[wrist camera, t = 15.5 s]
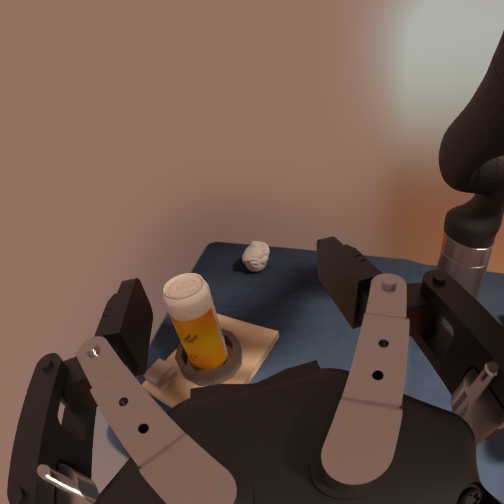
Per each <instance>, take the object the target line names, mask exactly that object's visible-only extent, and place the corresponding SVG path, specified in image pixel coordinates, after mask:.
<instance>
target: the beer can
mask: <svg viewBox="0 0 504 504" xmlns="http://www.w3.org/2000/svg"><path fill="white" fill-rule="evenodd" d="M163 292H164V294H163V301H164V303H165V306H166V308H167V311H168V313H169V315H170V318H171V320H172V322H173V325H174V327H175V329H176V332H177V334H178V336H179V338H180V341H181V343H182V345H183V347H184V349H185V351H186V354H187V356H188V358H189V360H190V362H191V364H192V366H193V367H194V369H195V370H197V371H211V370H213V369H215V368H217V367H219V366H221V365H224V364H225V363H226V361H227V360H228V359H229V353H228V349H227V346H226V343H225V340H224V337H223V334H222V330H221V327H220V324H219V320H218V317H217V314H216V310H215V307H214V304H213V300H212V297H211V293H210V290H209V286H208V284H207V283H206V282H205V281H204V280H203V278H202V276H200V275H198V274H195V273H186V274H181V275H179V276H176V277H174V278H172V279H171V280H169V281H168V282H167V283H166V284H165V286H164V288H163Z"/></svg>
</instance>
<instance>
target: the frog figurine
mask: <svg viewBox="0 0 504 504" xmlns="http://www.w3.org/2000/svg"><path fill="white" fill-rule="evenodd" d="M268 256H269V248H268V245H267V244H266V243H263V242H260V241H253V242H251V244H250V245H249V247H247V248H246V250H245V252H244V254H243V256H242V260H243V263H244V264H245V265H246V267H247V268H248V269H249V270H250V271H252V272H259V271H261V270H263V269H264V267H265V266H266V264H267V260H268Z"/></svg>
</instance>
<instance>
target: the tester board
mask: <svg viewBox="0 0 504 504" xmlns="http://www.w3.org/2000/svg"><path fill="white" fill-rule="evenodd" d="M216 314H217V313H216ZM217 317H218V320H219V324H220V327H221V330H222V334H223V337H224V340H225V343H226V346H227V349H228V353H229V359H228V360H227V361H226V363H225V364H224V365H221V366H219V367H217V368H215V369H213V370H211V371H197V370H195V369H194V367H193V366H192V364H191V362H190V360H189V358H188V356H187V354H186V351H185V349H184V347H183V345H182V343H180V344H179V345H178V347H177V349H176V350H175V351H174V352H173V353H172V354H171V355H170V356H169V357H168V358H167V359H166V360H165V361H163V360H162V359H160V358H159V359H158V360H157V361H156V362H155V363H154V364H153V365H152V366H151V367H150V368H149V369H148V370H147V371H146V374H145V375H143V376H144V377H145V379H146V381H145V382H144V383H143V384H142V386H143V388H144V389H145V390H146V391H147V392H148V393H149V394H151V395H152V396H154V397H155V398H157V399H158V400H160V401H161V402H163V403H164V404H166V405H168V406H169V407H171V408H173V407H174V406H175V405H177V404H179V403H180V402H182V401H184V400H186V399H189V398H190V389H191V388H197V387H204V386H210V385H216V384H249V382H250V381H251V379H252V378H253V376H254V375H255V374H256V372H257V371H258V369H259V368H260V366H261V365H262V363H263V362H264V360H265V359H266V357H267V356H268V354H269V352H270V351H271V349H272V348H273V346H274V345H275V343H276V342H277V340H278V338H279V331H276V330H272V329H268V328H265V327H261V326H258V325H254V324H250V323H247V322H244V321H240V320H237V319H233V318H230V317H227V316H223V315H220V314H217Z"/></svg>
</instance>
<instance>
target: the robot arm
mask: <svg viewBox="0 0 504 504" xmlns="http://www.w3.org/2000/svg"><path fill="white" fill-rule="evenodd" d="M439 167H440V171H441V175H442V177H443V179H444V181H445V182H446V183H447V184H448V185H449V186H450V187H451V188H453V189H455V190H457V191H461V192H467V193H475V196H474V197H473V198H472V199H471V200H470V201H468V202H467V203H465V204H463V205H460V206H458V207H455V208H452V209H451V210H449V211H448V212H447V214H446V217H445V223H444V230H443V236H442V242H441V248H440V253H439V258H438V263H437V267H436V270H431V271H428V272H426V273H425V274H424V276H423V281H422V283H413V284H406V282H405V281H404V280H403V279H402V278H401V277H399V276H397V275H394V274H382V273H381V272H380V271H379V270H378V269H377V268H376V267H375V266H374V265H373V264H372V263H371V262H370V261H369V260H367V258H365V257H364V256H363V255H362V254H361V253H360V252H359V251H358V250H357V249H356V248H353V247H351V246H349V245H343V244H342V243H341V242H340V241H338V240H337V239H336V238H335V237H328V238H324V239H319V240H318V241H317V272H318V277H319V280H320V282H321V284H322V285H323V286H324V288H325V289H326V291H327V292H328V294H329V295H330V296H331V298H332V299H333V301H334V302H335V304H336V305H337V307H338V308H339V309H340V311H341V312H342V314H343V315H344V317H345V318H346V320H347V321H348V323H349V324H350V326H351V327H352V329H354V328H357V327H360V326H362V327H361V331H360V335H359V339H358V343H357V347H356V351H355V355H354V358H353V362H352V365H351V369H350V372H349V371H346V370H341V369H334V368H322V369H320V367H319V365H318V363H317V360H316V361H312V362H309V363H306V364H302V365H299V366H295V367H291V368H288V369H285V370H283V371H281V372H279V373H277V374H275V375H273V376H271V377H269V378H267V379H264V380H262V381H260V382H258V383H254V384H216V385H210V386H204V387H197V388H191V389H190V398H189V399H186V400H184V401H182V402H180V403H179V404H177V405H175V406H174V407H173V408H171V409H170V410H169V411H168V412H167V413H165V412H164V410H163V409H162V408H161V407H160V406H159V405H158V404H157V403H156V402H155V400H154V399H153V398H152V397H151V396H150V395H149V394H148V392H147V391H146V390H145V389H144V388H143V386H142V385H141V384H140V383H139V382H138V380H137V379H136V378H135V377H136V376H137V375H145V374H146V365H147V357H148V349H149V342H150V335H151V329H152V322H153V312H152V308H151V305H150V303H149V300H148V298H147V296H146V293H145V291H144V289H143V286H142V284H141V282H140V280H139V279H138V278H135V279H130V280H126V281H122V283H121V285H120V288H119V290H118V293H117V294H114V295H113V296H112V297H111V298H110V300H109V301H108V302H107V304H106V307H105V311H104V312H103V315H102V318H101V320H100V323H99V325H98V328H97V331H96V334H95V337H92V338H90V339H88V340H86V341H85V342H84V343H83V344H82V345H81V346H80V347H79V349H78V352H77V356H76V357H74V358H71V359H68V360H66V361H63V360H62V359H61V358H60V356H59V355H58V354H56V353H50V354H47V355H45V356H44V357H43V358H41V360H40V361H39V362H38V363H37V365H36V367H35V370H34V373H33V376H32V379H31V381H30V384H29V387H28V391H27V394H26V397H25V400H24V404H23V407H22V411H21V415H20V419H19V422H18V427H17V431H16V435H15V440H14V446H13V450H12V456H11V463H10V470H9V478H8V488H7V489H8V490H7V495H8V500H9V503H10V504H503V503H502V502H500V501H499V500H497V499H496V498H495V497H493V496H492V495H491V494H490V493H489V492H488V491H487V490H486V489H485V488H484V487H483V485H482V484H481V482H480V479H479V474H478V469H477V460H476V446H477V445H478V444H479V443H481V442H482V441H483V440H489V439H491V438H493V437H494V436H495V435H496V434H497V433H499V432H500V431H501V430H502V429H503V428H504V328H503V327H502V326H501V325H500V324H499V323H498V322H497V321H496V320H495V319H494V317H493V316H492V315H491V314H490V313H489V312H488V311H487V310H486V309H485V308H484V307H483V306H482V305H481V304H480V303H479V302H478V301H477V300H476V299H477V296H478V294H479V291H480V288H481V285H482V282H483V279H484V276H485V273H486V269H487V266H488V263H489V259H490V255H491V251H492V247H493V243H494V239H495V236H496V234H497V232H498V230H499V228H500V226H501V223H502V218H503V214H504V31H503V34H502V37H501V39H500V42H499V44H498V47H497V49H496V51H495V53H494V56H493V58H492V61H491V63H490V66H489V68H488V71H487V73H486V75H485V77H484V79H483V81H482V82H481V84H480V86H479V88H478V89H477V91H476V92H475V94H474V96H473V98H472V99H471V101H470V102H469V103H468V105H467V106H466V107H465V109H464V110H463V111H462V112H461V113H460V115H459V116H458V117H457V118H456V119H455V120H454V122H453V123H452V124H451V125H450V126H449V128H448V129H447V131H446V133H445V134H444V137H443V139H442V142H441V146H440V151H439ZM409 336H412V338H413V339H414V340H415V342H416V343H417V344H418V346H419V347H420V349H421V350H422V352H423V353H424V354H425V356H426V357H427V359H428V360H429V362H430V363H431V364H432V366H433V367H434V369H435V370H436V372H437V373H438V375H439V376H440V378H441V379H442V381H443V382H444V384H445V386H446V387H447V389H448V390H449V392H450V393H451V395H452V397H451V407H452V412H450V411H447V410H444V409H441V408H439V407H436V406H433V405H430V404H428V403H425V402H423V401H420V400H417V399H415V398H412V397H410V396H407V395H405V394H403V392H404V385H405V377H406V367H407V357H408V344H409ZM453 336H454V338H453ZM60 402H61V403H62V404H63V405H64V406H65V409H64V414H63V419H62V425H61V424H60V423H59V420H58V410H59V405H60ZM97 406H99V408H100V410H101V412H102V413H103V415H104V417H105V418H106V420H107V422H108V423H109V425H110V427H111V428H112V430H113V431H114V433H115V434H116V436H117V437H118V439H119V440H120V442H121V443H122V445H123V446H124V448H125V449H126V450H127V452H128V453H129V455H130V456H131V457H130V458H129V460H128V461H127V462H126V463H125V465H124V466H123V467H122V468H121V470H120V471H119V472H118V473H117V474H116V475H115V477H114V478H113V479H112V480H111V481H110V483H109V484H108V485H107V486H106V487H105V489H104V490H103V491H102V492H101V493H98V491H97V487H96V485H95V483H94V482H93V481H92V480H91V468H92V448H93V435H94V424H95V415H96V407H97Z"/></svg>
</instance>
